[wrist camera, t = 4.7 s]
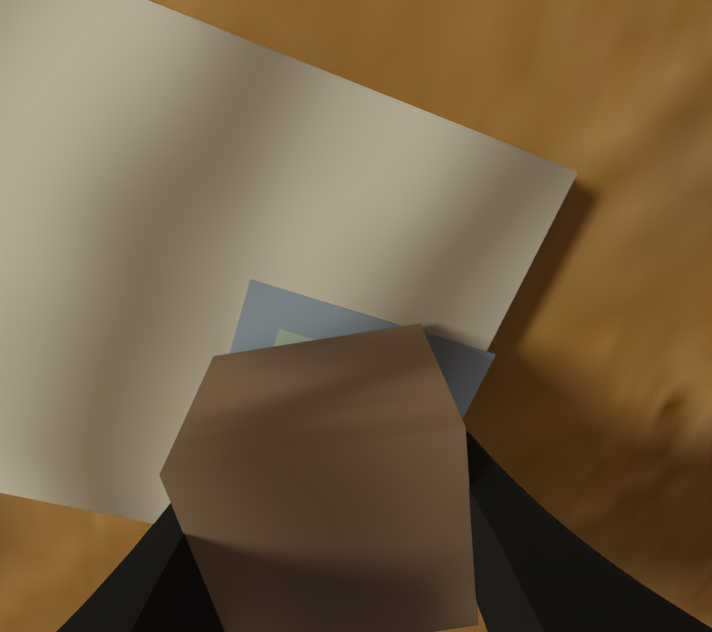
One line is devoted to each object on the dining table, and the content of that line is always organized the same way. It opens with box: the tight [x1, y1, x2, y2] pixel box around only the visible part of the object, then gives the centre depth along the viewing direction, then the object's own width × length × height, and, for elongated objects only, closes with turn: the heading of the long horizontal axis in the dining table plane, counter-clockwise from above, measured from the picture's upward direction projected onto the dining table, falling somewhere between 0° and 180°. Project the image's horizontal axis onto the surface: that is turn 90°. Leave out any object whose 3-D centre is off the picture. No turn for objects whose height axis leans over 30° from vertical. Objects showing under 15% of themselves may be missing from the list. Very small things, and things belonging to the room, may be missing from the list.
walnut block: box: [159, 323, 478, 632], centre depth 10 cm, size 5×5×4 cm
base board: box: [0, 0, 578, 524], centre depth 12 cm, size 16×13×2 cm
